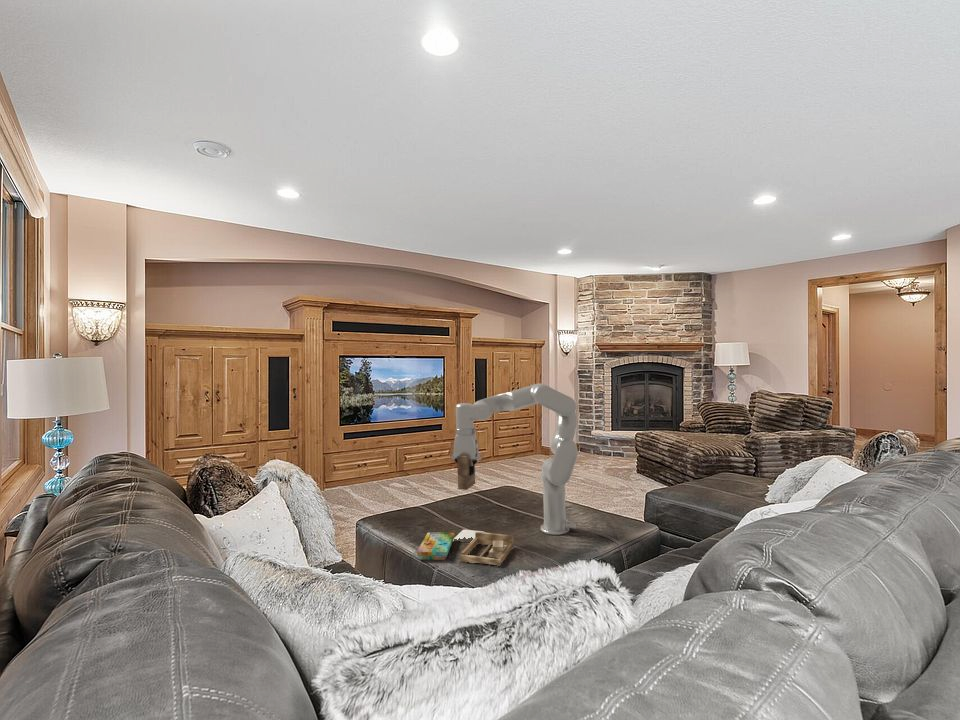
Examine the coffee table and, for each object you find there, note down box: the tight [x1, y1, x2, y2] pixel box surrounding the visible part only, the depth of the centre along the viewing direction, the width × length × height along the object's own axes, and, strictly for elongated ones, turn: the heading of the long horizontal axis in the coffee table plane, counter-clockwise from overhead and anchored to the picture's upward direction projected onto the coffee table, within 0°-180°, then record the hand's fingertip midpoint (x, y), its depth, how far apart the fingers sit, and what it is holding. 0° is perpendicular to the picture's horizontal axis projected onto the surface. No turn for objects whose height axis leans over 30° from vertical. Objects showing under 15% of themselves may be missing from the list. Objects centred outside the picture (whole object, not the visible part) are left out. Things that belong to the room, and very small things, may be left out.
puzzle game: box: [416, 532, 456, 561], centre depth 208 cm, size 12×5×20 cm
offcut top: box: [492, 540, 503, 552], centre depth 201 cm, size 4×6×2 cm, turn 177°
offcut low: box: [488, 545, 507, 558], centre depth 202 cm, size 5×8×3 cm, turn 161°
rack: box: [459, 531, 515, 565], centre depth 203 cm, size 16×18×5 cm
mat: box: [453, 529, 484, 542], centre depth 221 cm, size 10×13×1 cm
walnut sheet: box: [456, 455, 476, 491], centre depth 220 cm, size 4×10×14 cm, turn 160°
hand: (466, 473), depth 221 cm, fingers closed on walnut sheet, 4 cm apart
